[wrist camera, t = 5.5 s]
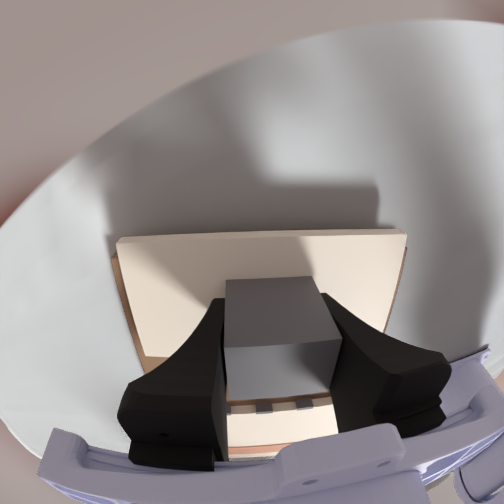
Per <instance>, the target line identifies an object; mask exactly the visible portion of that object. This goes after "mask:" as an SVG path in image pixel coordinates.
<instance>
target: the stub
mask: <svg viewBox="0 0 504 504" xmlns="http://www.w3.org/2000/svg"><path fill="white" fill-rule="evenodd" d="M406 239H407V234H406V233H405V232H403V231H402V230H400V229H331V230H283V231H248V232H219V233H194V234H172V235H152V236H133V237H121V238H120V239H119V240H118V241H117V242H116V248H117V253H118V258H119V263H120V267H121V272H122V276H123V280H124V284H125V289H126V292H127V296H128V300H129V304H130V308H131V311H132V315H133V318H134V322H135V325H136V328H137V332H138V335H139V338H140V341H141V344H142V347H143V350H144V353H145V356H151V357H170V356H171V355H172V354H173V353H174V352H175V351H177V350H178V349H179V348H180V346H181V345H182V344H183V343H184V342H185V341H186V340H187V339H188V337H189V336H190V335H191V334H192V332H193V331H194V330H195V328H196V327H197V326H198V324H199V323H200V321H201V319H202V318H203V316H204V315H205V313H206V311H207V309H208V308H209V306H210V304H211V301H212V300H213V299H214V298H225V321H224V353H225V363H226V372H227V381H228V390H229V398H230V400H248V399H265V398H277V397H288V396H297V395H306V394H313V393H320V392H327V391H329V387H330V384H331V380H332V377H333V373H334V370H335V366H336V362H337V358H338V354H339V350H340V346H341V342H342V337H341V334H340V332H339V330H338V328H337V326H336V324H335V322H334V320H333V318H332V316H331V314H330V312H329V310H328V308H327V306H326V304H325V302H324V300H323V298H322V296H321V294H320V293H327V294H328V295H330V296H331V297H332V298H333V299H335V300H336V301H337V302H338V303H340V304H341V305H342V306H343V307H345V308H346V309H347V310H349V311H350V312H351V313H352V314H354V315H355V316H357V317H358V318H359V319H361V320H362V321H364V322H365V323H367V324H368V325H370V326H372V327H373V328H375V329H377V330H379V331H380V332H382V333H383V330H384V327H385V324H386V321H387V317H388V314H389V310H390V307H391V303H392V300H393V296H394V292H395V288H396V285H397V281H398V276H399V272H400V268H401V263H402V259H403V254H404V249H405V244H406Z"/></svg>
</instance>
